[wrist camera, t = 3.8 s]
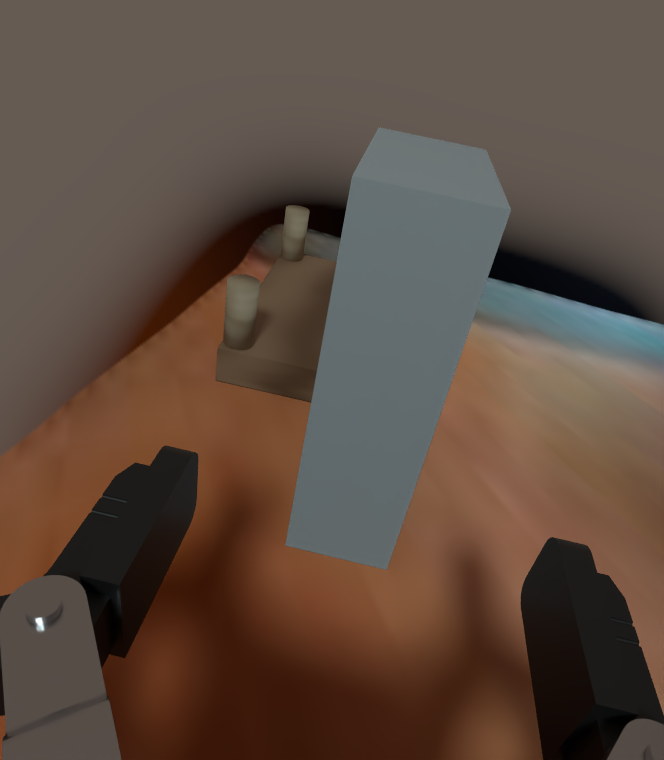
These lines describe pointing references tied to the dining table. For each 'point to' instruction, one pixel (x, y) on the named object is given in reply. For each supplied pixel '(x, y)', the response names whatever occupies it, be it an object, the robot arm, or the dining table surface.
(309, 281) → the peg stand
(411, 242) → the rectangular block
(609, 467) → the dining table surface
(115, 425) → the dining table surface
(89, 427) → the dining table surface
